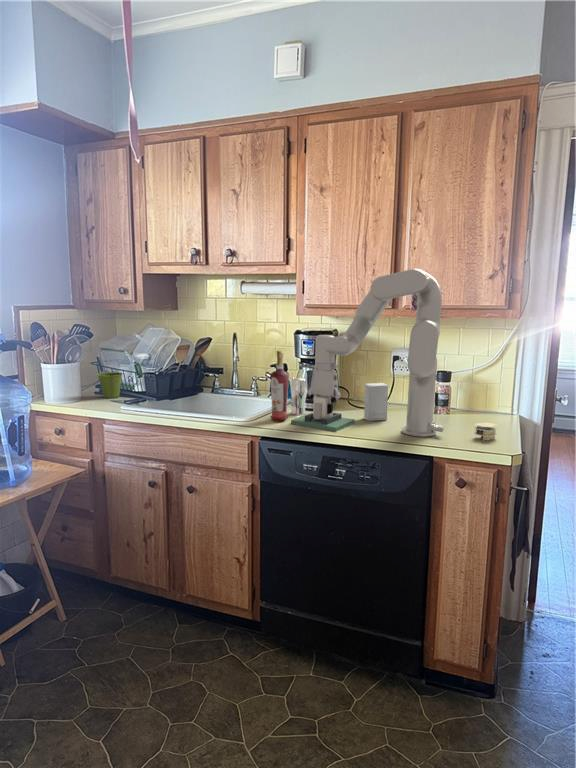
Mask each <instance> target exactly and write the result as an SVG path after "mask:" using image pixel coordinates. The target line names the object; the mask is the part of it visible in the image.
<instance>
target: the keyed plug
mask: <svg viewBox="0 0 576 768" xmlns="http://www.w3.org/2000/svg"><path fill="white" fill-rule="evenodd" d="M333 397H335V395H333ZM327 404H328V398H327V396H321V395H320V396H316V397H314V402H313V408H312V409H313V412H312V413H313V417H314V419H322V418H328V417H331V416H333V413H334V410H333V411H332V413H330V414H327Z"/></svg>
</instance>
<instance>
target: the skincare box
mask: <svg viewBox="0 0 576 768" xmlns="http://www.w3.org/2000/svg"><path fill="white" fill-rule="evenodd" d="M388 395H389V385H388V384H386V383H384V382H376V383H375V382H374V383H372V382H371V383H365V384H364V409H363V410H364V412H363V415H364V416H363V417H364V419H366V420H367V421H368V422H374V421H387V420H388V398H389V397H388Z"/></svg>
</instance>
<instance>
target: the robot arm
mask: <svg viewBox="0 0 576 768" xmlns="http://www.w3.org/2000/svg"><path fill="white" fill-rule="evenodd" d="M370 284H371V285H370V288H369V290H368V293H367V294H366V295H365V296H364V298H363V299H362V301H361V302H360V303H359V305H358V306H357V308H356V311H355V315H354V317H353V320H352V322H351V324H350V325H349V327H347V329H346V330H345V332H344V333H343V334H342V335H340V336H334V335H331V334H319V335H317V336H316V337H315V353H314V356H315V357H314V358H315V359H314V360H315V361H314V364H315V365H314V369H313V371H312V375H311V376H312V377H311V381H310V382H311V383H310V387H309V388H308V389H307V394H308V395H309V396H310V398H311V399H312V402H313V403H314V397H316V396H320V395H321V396H327V398H328V404H327V414H330V413H332V411H333V412H334V403H335V402H336V401H337V400H339V399H340V398H342V395H341V393H340V391H339V383H338V381H339V379H338V374H337V370H335V369H338V365H337V364H336V361H335V360H336V359H335V358H336V356H341V357H342V356H348V355H350V354H352V353H354V352H355V351H356V350H357V349H358V348H359V347H360V345H361V343H362V342H363V340H364V339H366V336H367V335H368V334H369V332H370V330H371V329H372V327H373V326H374V325H375V323H376V322H377V321H378V319H379V318H380V317H381V315H382V313H383V312H384V310H385V309H386V308H387V306H388V305H389V304H390V302H391V301H392V300H393V299H396V298H397V299H398V298H400V297H405V296H410V295H416V297H417V305H416V316H415V322H414V324H413V326H412V328H411V331H410V336H409V344H408V345H409V346H408V354H407V355H408V356H407V369H408V371H409V377H408V378H409V379H408V390H407V391H408V392H407V404H406V405H407V409H406V425H405V426H402V428H401V432H402V433H403V434H405V435H407V436H408V435H409V436H413V437H420V438H421V437H422V438H423V437H434V436H436V435H437V432H438V433H443V432H444V430H445V429H444V426H442V425H437V424H436V421H435V420H434V410H435V409H434V406H435V393H436V383H437V381H436V379H437V371H438V358H437V354H438V353H437V352H438V345H439V344H438V343H439V337H440V333H441V331H440V330H441V329H440V324H441V317H442V316H441V315H442V306H443V305H442V304H443V303H442V301H443V299H442V298H443V295H442V290H441V287H440V285H439V282H438V281H437V280H436V279H435V278H434V277H433V276H432V275H431V274H429V273H428V272H427V271H424V270H422V269H420V268H411V269H407V270H403V271H398V272H393V273H390V274H385V275H380V276H378V277H375V279H373V281H372V282H371V283H370ZM333 396H334V397H333Z"/></svg>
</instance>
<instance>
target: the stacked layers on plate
mask: <svg viewBox="0 0 576 768" xmlns="http://www.w3.org/2000/svg"><path fill="white" fill-rule="evenodd" d="M495 426H497V424H496V423H493V422H479V423H478V422H477V423H475V427H474V429H475V432H473V434H474V435H476V436H480V438H481V437H483V438H481V439H483V440H482V441H485V440H490V439H491V440H495V439H496V435H497V433H496V430H497V429H498V428H497V427H495ZM494 438H495V439H494ZM491 440H490V441H491Z"/></svg>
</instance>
